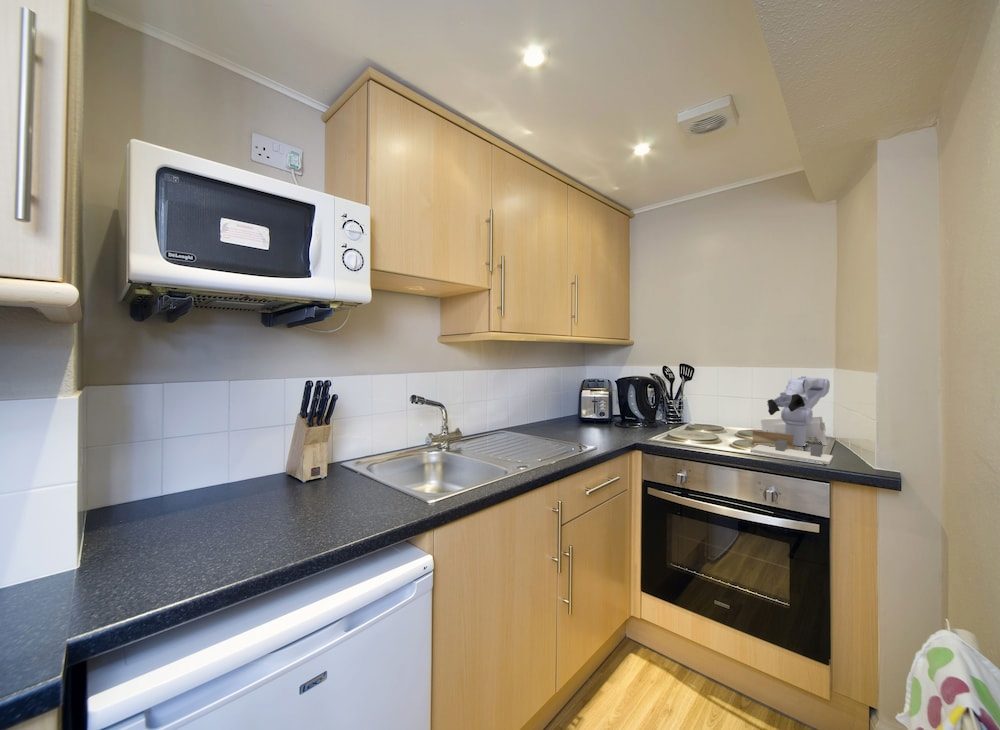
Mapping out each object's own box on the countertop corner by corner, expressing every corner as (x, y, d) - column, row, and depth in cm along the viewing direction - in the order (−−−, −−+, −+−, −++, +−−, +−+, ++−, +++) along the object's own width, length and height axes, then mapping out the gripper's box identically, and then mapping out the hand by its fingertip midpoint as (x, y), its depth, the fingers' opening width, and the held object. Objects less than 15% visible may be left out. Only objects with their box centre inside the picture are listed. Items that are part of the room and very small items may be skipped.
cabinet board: (758, 446, 167) (758, 436, 167) (832, 458, 150) (833, 446, 150) (750, 451, 157) (751, 440, 157) (829, 464, 141) (829, 452, 141)
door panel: (753, 443, 173) (754, 430, 173) (793, 449, 163) (793, 435, 163) (752, 444, 172) (752, 430, 171) (792, 450, 162) (792, 435, 162)
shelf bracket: (822, 447, 169) (817, 417, 171) (763, 446, 192) (759, 419, 194) (830, 445, 172) (824, 416, 173) (770, 445, 194) (766, 419, 196)
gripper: (768, 391, 173) (756, 406, 166) (805, 382, 161) (794, 398, 154) (776, 405, 173) (765, 420, 166) (814, 398, 161) (804, 414, 154)
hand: (780, 411), depth 160 cm, fingers open, 7 cm apart
